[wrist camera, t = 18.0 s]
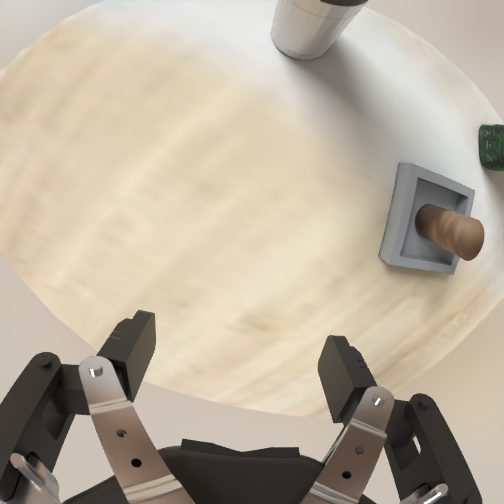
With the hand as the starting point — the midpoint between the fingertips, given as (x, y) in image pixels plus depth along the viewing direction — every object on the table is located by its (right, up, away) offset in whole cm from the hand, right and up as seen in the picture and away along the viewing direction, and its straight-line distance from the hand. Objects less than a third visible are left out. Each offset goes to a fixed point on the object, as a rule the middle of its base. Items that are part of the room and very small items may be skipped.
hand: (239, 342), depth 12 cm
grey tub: (+31, +10, +29) cm, 43 cm away
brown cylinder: (+31, +9, +28) cm, 43 cm away
